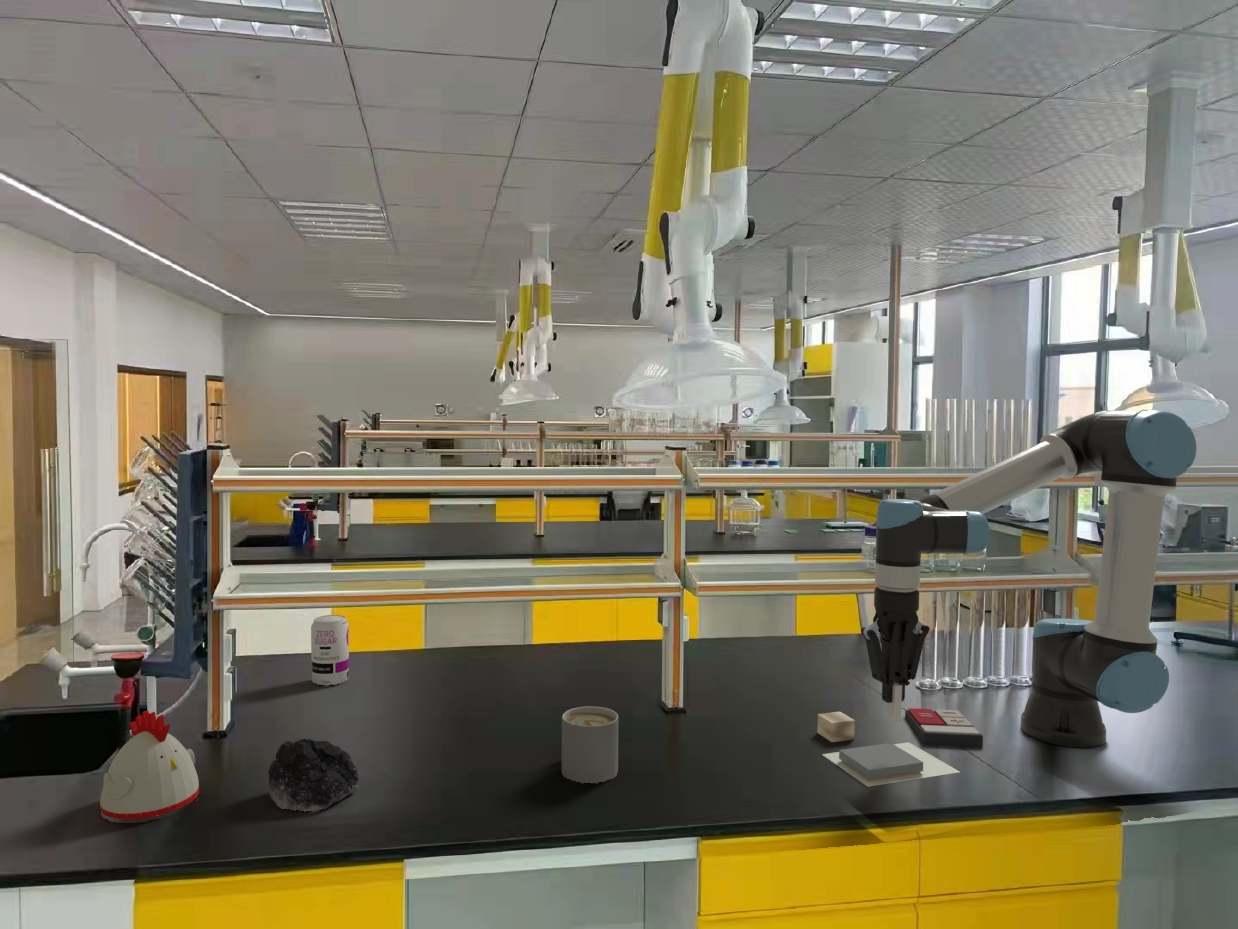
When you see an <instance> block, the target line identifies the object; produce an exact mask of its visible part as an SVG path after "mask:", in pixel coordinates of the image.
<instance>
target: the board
mask: <svg viewBox="0 0 1238 929" xmlns="http://www.w3.org/2000/svg"><path fill="white" fill-rule="evenodd" d="M893 744H894V743H893ZM894 745H895V746H897V747H899V748H900V749H902V750H904V751H905V752H907V753H909V754H910V755H912V756H914V757H915V758H917V759H919V760H921V761H922V762H923V771H921V772H920V773H917V774H911V775H904V776H897V777H891V778H884V779H878V780H871V781H869V780H868V779H866V778H865V777H863V776H862V775H860V774H859V773H858V772H856V771H855V770H853V769H852V768H850V767H849V766H847V765H846V764H844V763H843V762H842V761H841V760H840V759H839V751H837V752H835V751H834V752H830V753H829V752H828V753H823V754H821V755H822V756H823V757H825V758H826V759H828V760H829V762H831V763H833V764H835V766H837V767H839V768H841V769H842V770H843V771H844V772H846V773H847V774H848V775H851V776H852V777H853V778H855V779H856V780H857V781H858V782H861V784H864V785H865V786H866V787H874V786H881V785H887V784H894V783H902V782H907V781H913V780H919V779H926V778H932V777H940V776H946V775H951V774H960V773H961V771H959V770H957V769H956V768H954V767H952V766H951V765H949V764H947V762H944V761H942V760H940V759H938V758H937V757H936V756H933V755H932V754H930V753H928V752H926V751H924V750H922V749H921V748H919V747H918V746H916V745H914V744H912V743H911V742H902V743H901V742H900V743H895V744H894Z"/></svg>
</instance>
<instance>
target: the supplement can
mask: <svg viewBox="0 0 1238 929" xmlns="http://www.w3.org/2000/svg"><path fill="white" fill-rule="evenodd" d="M349 631H350V630H349V622H348V620H347V618H346V616H345V615H340V614H328V615H327V614H326V615H320V616H317V617H315V618H314V619H313V622H312V624H311V626H310V634H311V636H310V637H311V639H310V643H311V644H310V645H311V646H310V648H311V650H310V651H311V654H310V656H311V681H312V683H313V684H315V683H316V684H321V685H330V684H337V683H341V682H344V681H348V679H349V678H350V659H349V658H350V654H349V653H350V649H349V648H350V642H349V640H350V638H349V637H350V636H349V635H350V634H349ZM344 683H345V682H344ZM316 684H315V685H316Z"/></svg>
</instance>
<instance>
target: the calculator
mask: <svg viewBox="0 0 1238 929" xmlns="http://www.w3.org/2000/svg"><path fill="white" fill-rule="evenodd" d="M904 718H905V719H906V721H907V722H908V723H909V725H910V727H911V728H912V730H913V731H914V733H915V734H916V736H917V737H918V739H919V740H920V742H921V743H922V744H923V745H926V746H927V745H929V746H945V747H947V746H948V747H949V746H950V747H966V748H968V747H971V748H983V747H984V734H982V733H980V731H979V730H978V729H976V727H975V726H974V725H973V724H972V723H971V722H970V721H969V720H968V719H967V718H966V717H965V716H964V715H963V714H962V712H960V710H956V709H940V708H939V709H935V708H934V710H933V709H931V708H911V707H910V708H907V709H906V710H905V711H904Z"/></svg>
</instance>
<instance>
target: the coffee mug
mask: <svg viewBox="0 0 1238 929" xmlns="http://www.w3.org/2000/svg"><path fill="white" fill-rule="evenodd" d="M617 773H619V713H617V711H615V710H612V709H611V708H608V707H603V706H602V707H601V706H588V705H586V706H579V707H574V708H570V709H568V710H566V711H565V712H563V714H562V716H561V774H563V775H562V776H563V777H564V778H565V777H566V778H567V780H568V779H570V780H573V781H576V782H575V783H577V782H580V783H579V784H584V783H591V785H592V784H593V783H595V784H600V783H599V782H602V783H605V781H606V782H608V781H607V780H609V781H610V779H611V780H613V779H614V778H616V777H617V775H618V774H617ZM566 778H565V779H566ZM570 780H569V781H570ZM573 781H572V782H573Z"/></svg>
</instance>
